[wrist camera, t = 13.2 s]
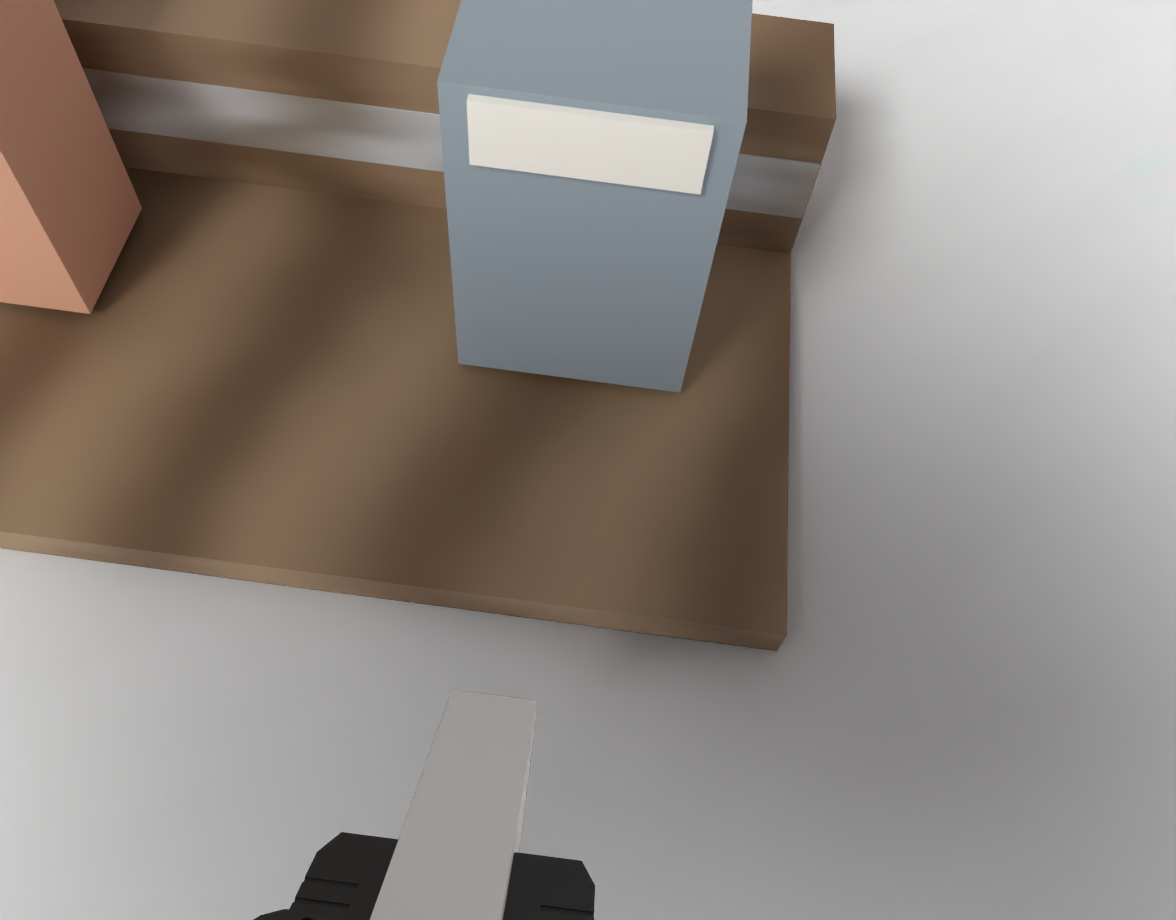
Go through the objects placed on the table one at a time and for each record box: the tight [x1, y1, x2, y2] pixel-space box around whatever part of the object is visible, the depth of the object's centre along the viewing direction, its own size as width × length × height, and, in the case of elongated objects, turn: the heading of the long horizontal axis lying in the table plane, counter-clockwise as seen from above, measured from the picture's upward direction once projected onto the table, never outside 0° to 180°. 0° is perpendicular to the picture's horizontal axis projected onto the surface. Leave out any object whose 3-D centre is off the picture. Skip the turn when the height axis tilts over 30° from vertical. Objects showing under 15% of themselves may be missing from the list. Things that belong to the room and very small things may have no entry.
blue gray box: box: [437, 0, 752, 393], centre depth 24 cm, size 6×4×9 cm
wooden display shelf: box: [0, 0, 836, 651], centre depth 27 cm, size 28×16×6 cm, turn 83°
